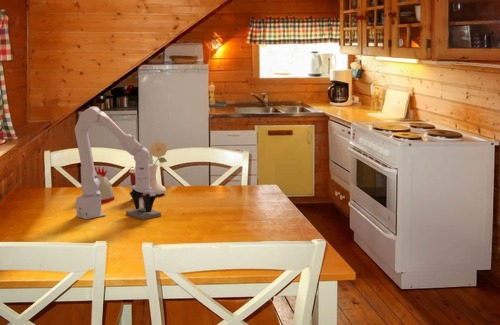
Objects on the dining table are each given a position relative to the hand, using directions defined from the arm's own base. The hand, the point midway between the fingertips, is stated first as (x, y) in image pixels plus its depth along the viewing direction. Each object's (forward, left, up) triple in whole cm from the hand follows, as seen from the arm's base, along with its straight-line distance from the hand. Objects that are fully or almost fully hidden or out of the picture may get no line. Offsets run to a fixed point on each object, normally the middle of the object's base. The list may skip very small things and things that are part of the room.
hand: (143, 210), depth 282 cm
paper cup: (+14, +25, -2) cm, 29 cm away
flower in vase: (+25, +28, -2) cm, 38 cm away
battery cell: (0, 0, -2) cm, 2 cm away
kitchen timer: (0, +36, -2) cm, 36 cm away
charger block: (0, 0, -2) cm, 2 cm away
